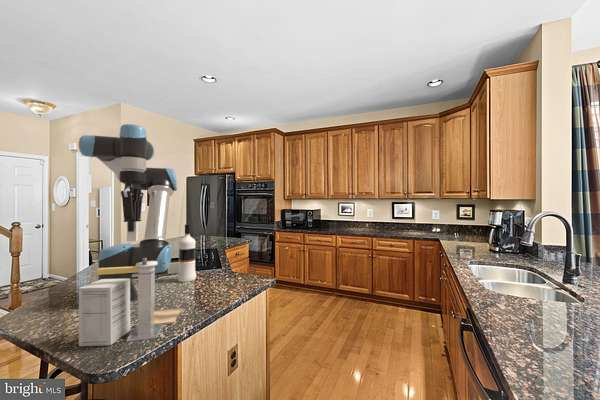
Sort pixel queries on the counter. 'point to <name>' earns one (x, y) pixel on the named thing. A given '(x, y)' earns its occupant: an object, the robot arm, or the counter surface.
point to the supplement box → (104, 312)
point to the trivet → (165, 316)
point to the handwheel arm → (131, 268)
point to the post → (146, 309)
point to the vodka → (187, 257)
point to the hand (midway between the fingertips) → (132, 241)
